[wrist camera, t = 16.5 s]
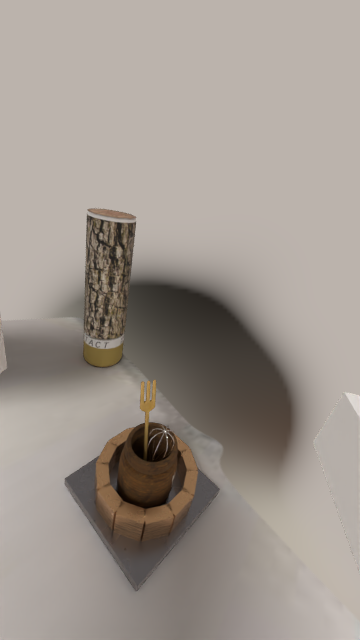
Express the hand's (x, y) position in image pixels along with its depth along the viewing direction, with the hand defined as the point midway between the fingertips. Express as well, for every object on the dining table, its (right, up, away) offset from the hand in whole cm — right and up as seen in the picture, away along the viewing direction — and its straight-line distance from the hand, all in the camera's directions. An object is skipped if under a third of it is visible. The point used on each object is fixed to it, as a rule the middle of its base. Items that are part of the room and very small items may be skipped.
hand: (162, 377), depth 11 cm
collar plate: (-3, -17, +20) cm, 26 cm away
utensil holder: (-3, -16, +19) cm, 25 cm away
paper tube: (-13, -5, +40) cm, 42 cm away
